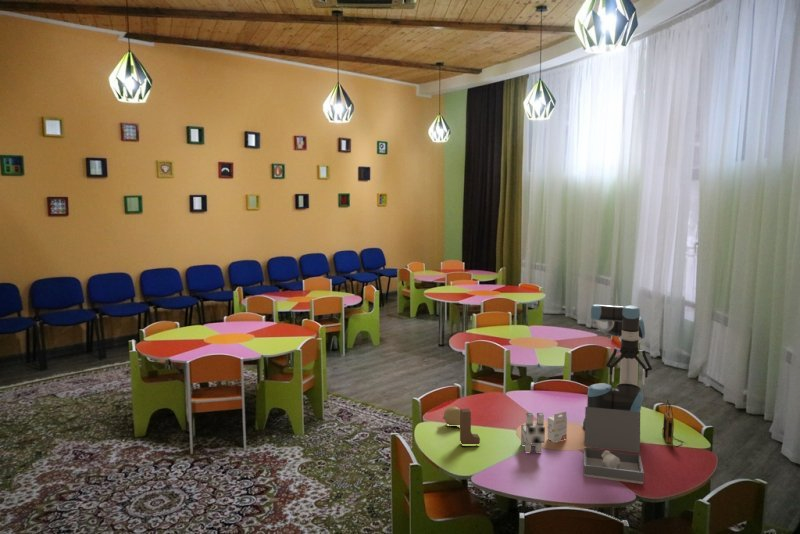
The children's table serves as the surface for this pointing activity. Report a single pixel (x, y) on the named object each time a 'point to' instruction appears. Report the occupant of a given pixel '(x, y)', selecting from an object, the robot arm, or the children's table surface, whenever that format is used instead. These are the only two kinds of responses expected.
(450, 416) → the toy pig
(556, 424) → the ink cartridge box
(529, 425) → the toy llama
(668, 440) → the multimeter
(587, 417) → the case lid
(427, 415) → the children's table surface
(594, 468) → the case
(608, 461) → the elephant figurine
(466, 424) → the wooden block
